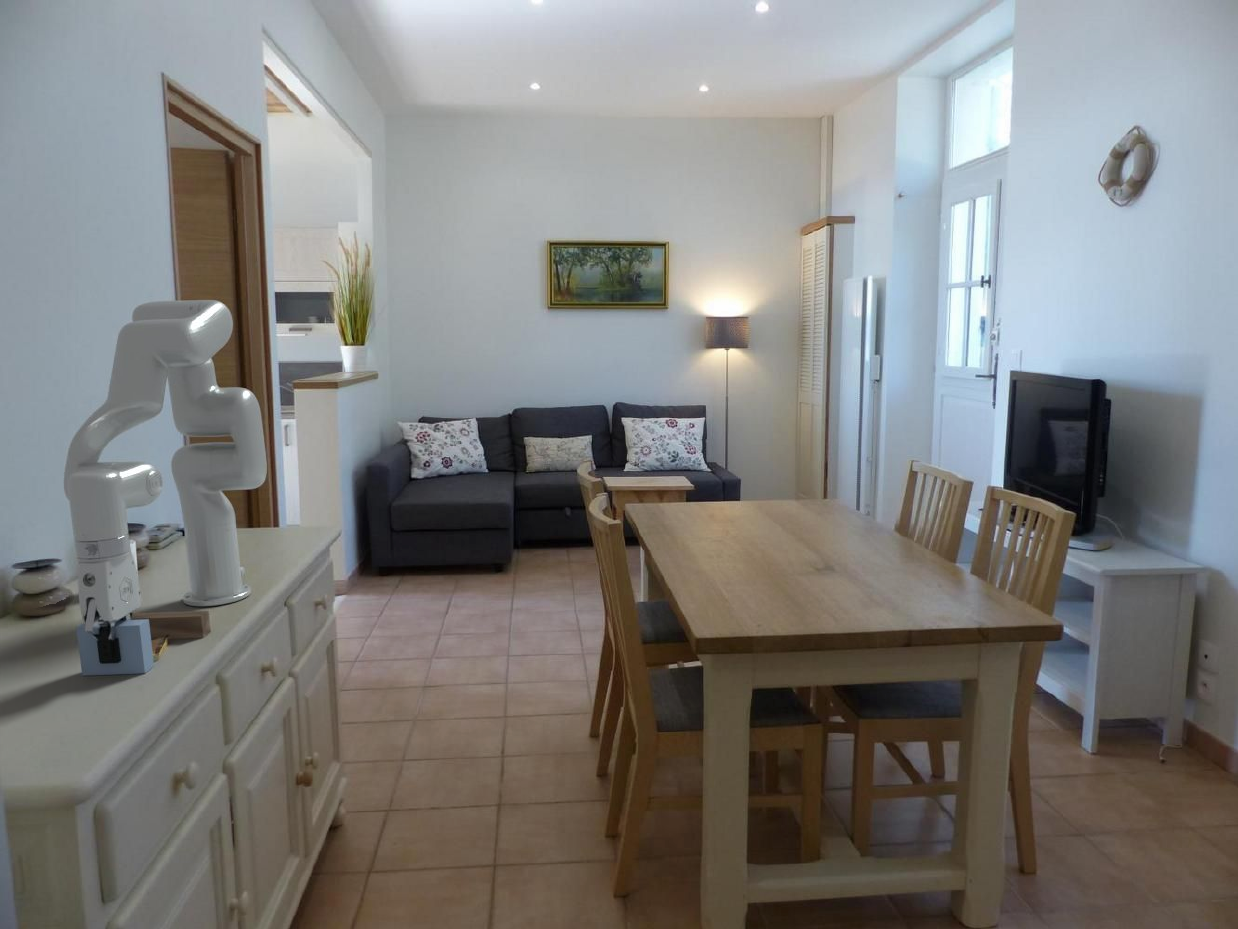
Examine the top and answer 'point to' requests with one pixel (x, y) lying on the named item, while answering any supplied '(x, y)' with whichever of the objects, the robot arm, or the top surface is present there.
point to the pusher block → (132, 649)
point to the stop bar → (176, 624)
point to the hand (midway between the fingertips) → (116, 657)
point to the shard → (159, 646)
